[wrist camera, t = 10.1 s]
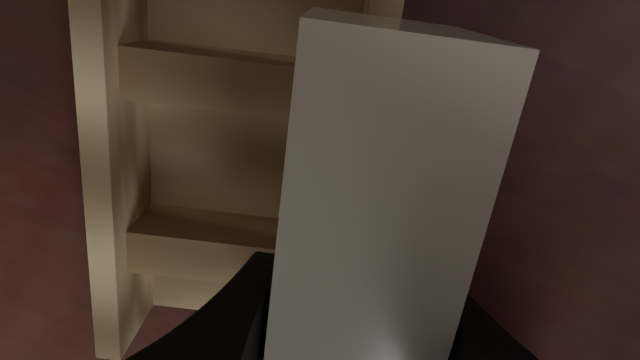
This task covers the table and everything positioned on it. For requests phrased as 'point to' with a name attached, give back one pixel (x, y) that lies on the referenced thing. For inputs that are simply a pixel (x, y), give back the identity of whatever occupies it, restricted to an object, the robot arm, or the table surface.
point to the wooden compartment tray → (181, 144)
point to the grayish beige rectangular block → (388, 183)
